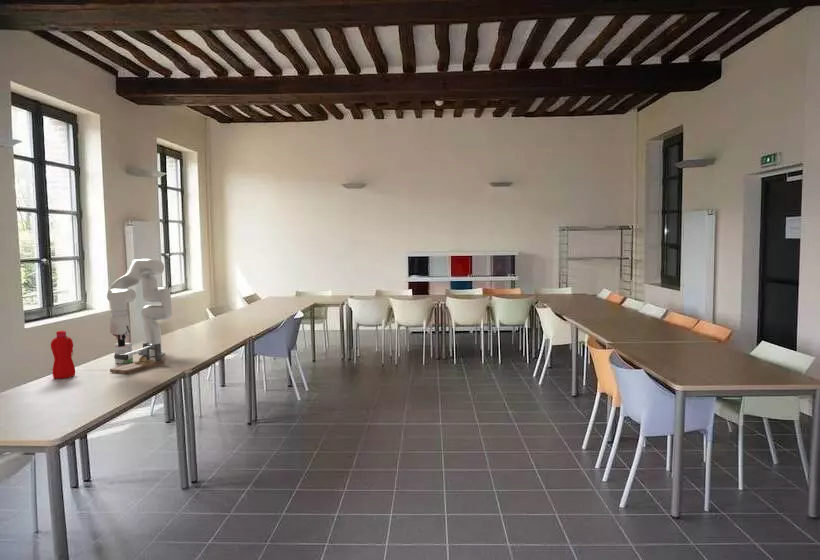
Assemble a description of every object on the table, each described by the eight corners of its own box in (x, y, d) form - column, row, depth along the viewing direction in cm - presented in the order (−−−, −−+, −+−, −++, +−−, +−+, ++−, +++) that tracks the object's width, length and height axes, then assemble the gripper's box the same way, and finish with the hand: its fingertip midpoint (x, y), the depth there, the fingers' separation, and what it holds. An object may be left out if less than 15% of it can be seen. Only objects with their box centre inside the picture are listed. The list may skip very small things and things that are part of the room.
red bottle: (67, 379, 297) (64, 332, 294) (49, 378, 299) (46, 332, 297) (81, 375, 306) (78, 329, 303) (63, 374, 308) (60, 329, 306)
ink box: (133, 361, 336) (132, 342, 335) (129, 363, 331) (128, 343, 330) (119, 362, 336) (117, 342, 335) (114, 364, 331) (113, 344, 330)
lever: (149, 350, 332) (148, 343, 332) (159, 351, 330) (158, 343, 330) (114, 362, 309) (113, 354, 308) (124, 362, 307) (123, 355, 306)
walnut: (137, 363, 322) (137, 356, 322) (143, 361, 326) (142, 355, 326) (143, 363, 321) (142, 357, 321) (148, 362, 325) (148, 355, 324)
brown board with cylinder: (110, 372, 310) (108, 351, 309) (146, 362, 334) (145, 342, 333) (128, 374, 306) (127, 352, 305) (164, 363, 330) (162, 343, 329)
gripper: (103, 313, 306) (105, 346, 308) (124, 315, 301) (126, 348, 303) (114, 311, 313) (116, 344, 315) (135, 312, 308) (137, 345, 310)
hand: (121, 346), depth 309 cm, fingers closed
